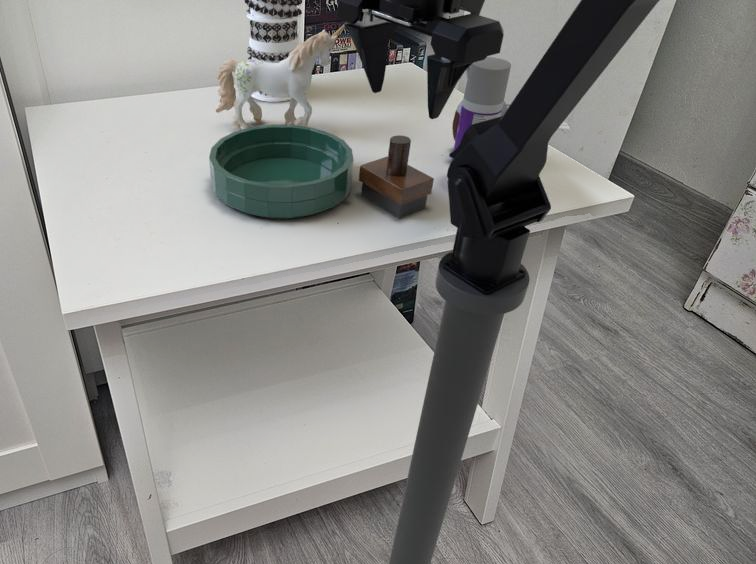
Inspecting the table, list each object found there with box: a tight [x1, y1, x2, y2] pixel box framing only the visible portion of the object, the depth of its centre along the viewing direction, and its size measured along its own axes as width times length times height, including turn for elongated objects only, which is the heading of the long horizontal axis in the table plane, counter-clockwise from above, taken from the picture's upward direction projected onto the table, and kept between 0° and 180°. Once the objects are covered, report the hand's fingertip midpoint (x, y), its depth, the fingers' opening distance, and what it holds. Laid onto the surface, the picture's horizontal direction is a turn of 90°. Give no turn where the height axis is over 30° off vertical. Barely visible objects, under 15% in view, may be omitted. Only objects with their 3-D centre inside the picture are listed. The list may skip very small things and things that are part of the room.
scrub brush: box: [358, 134, 435, 219], centre depth 76 cm, size 8×5×8 cm, turn 36°
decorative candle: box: [244, 0, 303, 103], centre depth 98 cm, size 9×9×25 cm
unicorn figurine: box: [215, 24, 345, 130], centre depth 91 cm, size 7×20×13 cm, turn 99°
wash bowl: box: [208, 124, 354, 219], centre depth 80 cm, size 18×18×4 cm
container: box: [450, 56, 512, 163], centre depth 77 cm, size 5×5×15 cm
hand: (404, 104), depth 71 cm, fingers open, 9 cm apart
